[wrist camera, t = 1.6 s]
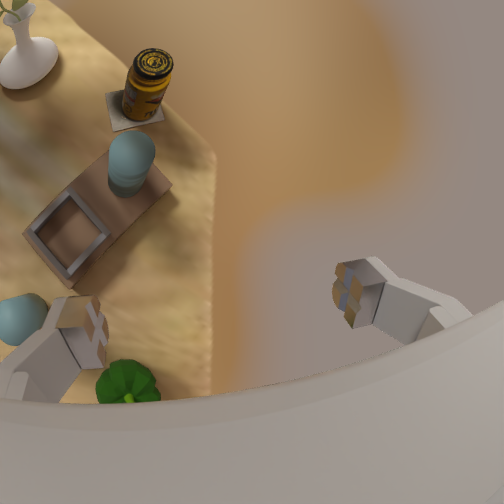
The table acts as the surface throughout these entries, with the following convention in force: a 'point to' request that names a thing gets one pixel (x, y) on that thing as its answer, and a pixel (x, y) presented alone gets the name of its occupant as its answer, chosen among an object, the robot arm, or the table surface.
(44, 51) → the flower in vase
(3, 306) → the column
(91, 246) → the base
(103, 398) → the bell pepper
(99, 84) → the table surface
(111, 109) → the condiment
